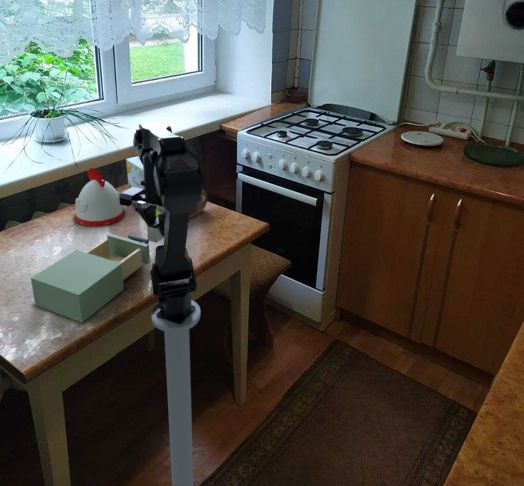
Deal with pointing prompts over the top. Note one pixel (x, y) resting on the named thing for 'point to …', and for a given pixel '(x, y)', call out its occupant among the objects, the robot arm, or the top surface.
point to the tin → (201, 203)
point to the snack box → (137, 176)
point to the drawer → (124, 252)
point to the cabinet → (77, 285)
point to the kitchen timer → (98, 202)
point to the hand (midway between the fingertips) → (159, 234)
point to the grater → (154, 231)
